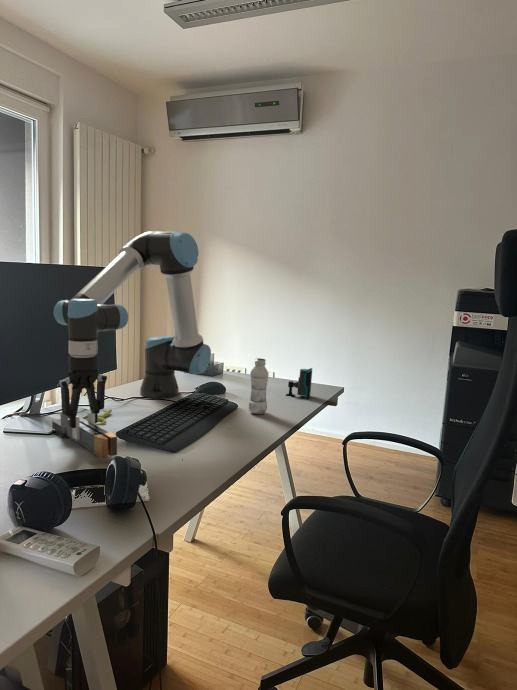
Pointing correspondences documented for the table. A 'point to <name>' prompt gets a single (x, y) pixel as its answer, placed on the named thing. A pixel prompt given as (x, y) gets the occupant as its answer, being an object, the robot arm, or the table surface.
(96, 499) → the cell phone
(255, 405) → the plastic bottle
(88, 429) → the tongs jaw
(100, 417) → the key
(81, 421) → the tongs jaw
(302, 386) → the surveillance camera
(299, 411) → the table surface
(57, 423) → the tongs pivot
